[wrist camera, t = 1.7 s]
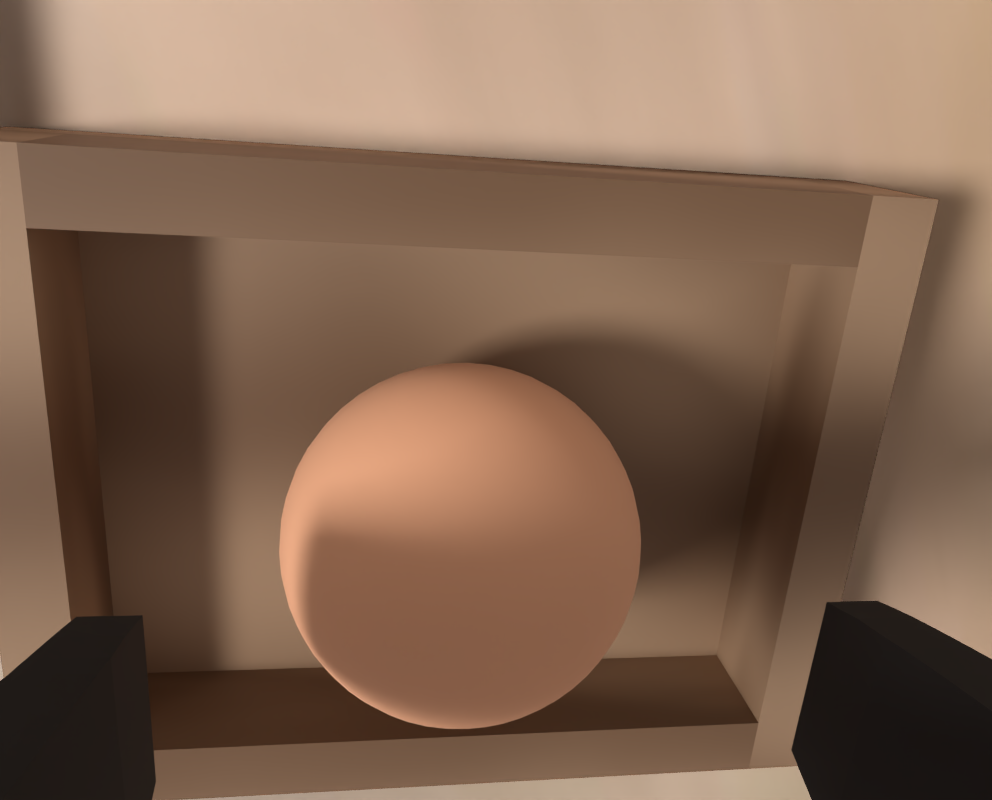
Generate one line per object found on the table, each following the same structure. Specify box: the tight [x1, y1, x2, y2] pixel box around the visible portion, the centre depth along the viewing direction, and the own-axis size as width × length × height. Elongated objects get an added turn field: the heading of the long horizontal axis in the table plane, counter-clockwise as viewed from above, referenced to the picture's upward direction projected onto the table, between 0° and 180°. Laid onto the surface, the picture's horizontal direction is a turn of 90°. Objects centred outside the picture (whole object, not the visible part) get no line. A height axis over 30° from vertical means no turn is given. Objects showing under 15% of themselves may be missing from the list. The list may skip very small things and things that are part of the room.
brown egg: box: [279, 363, 641, 729], centre depth 12 cm, size 5×5×5 cm
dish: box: [0, 127, 939, 800], centre depth 14 cm, size 10×13×2 cm
